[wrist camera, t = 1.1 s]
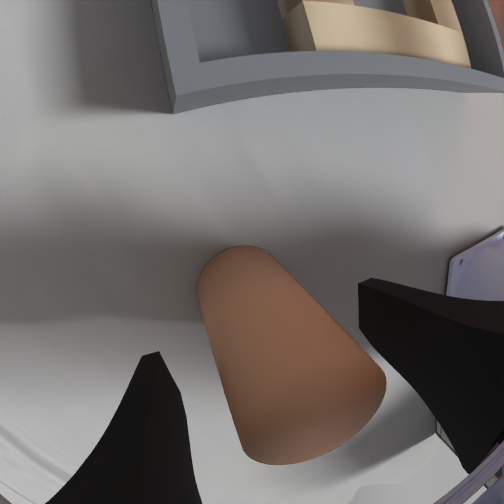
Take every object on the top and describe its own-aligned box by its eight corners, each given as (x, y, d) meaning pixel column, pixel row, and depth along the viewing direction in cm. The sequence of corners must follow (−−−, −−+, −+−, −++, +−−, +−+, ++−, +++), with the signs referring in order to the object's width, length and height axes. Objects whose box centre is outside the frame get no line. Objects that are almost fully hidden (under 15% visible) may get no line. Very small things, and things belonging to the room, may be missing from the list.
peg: (274, 234, 13) (392, 333, 6) (288, 309, 15) (379, 426, 8) (186, 261, 13) (220, 403, 5) (211, 335, 14) (258, 478, 7)
